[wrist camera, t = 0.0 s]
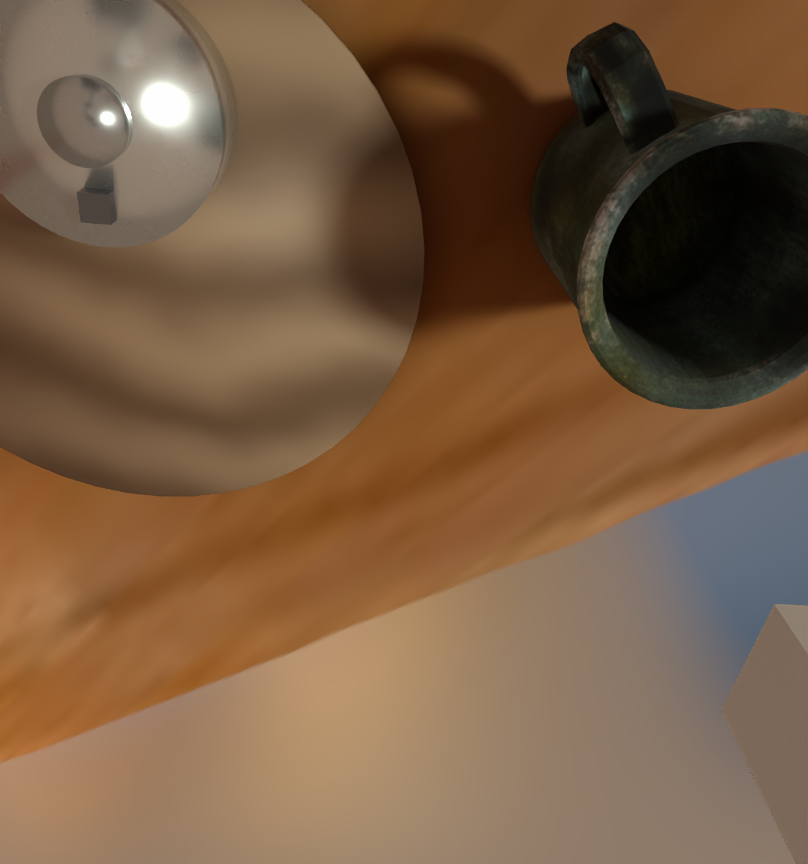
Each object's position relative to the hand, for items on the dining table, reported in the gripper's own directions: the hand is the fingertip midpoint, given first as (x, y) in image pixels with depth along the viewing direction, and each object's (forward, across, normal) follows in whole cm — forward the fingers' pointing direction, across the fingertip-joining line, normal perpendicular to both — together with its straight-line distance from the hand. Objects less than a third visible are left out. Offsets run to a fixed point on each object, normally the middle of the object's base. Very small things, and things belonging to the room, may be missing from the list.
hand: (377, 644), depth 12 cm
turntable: (+28, -11, -3) cm, 30 cm away
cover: (+26, -11, +4) cm, 29 cm away
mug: (+28, +12, +3) cm, 31 cm away
